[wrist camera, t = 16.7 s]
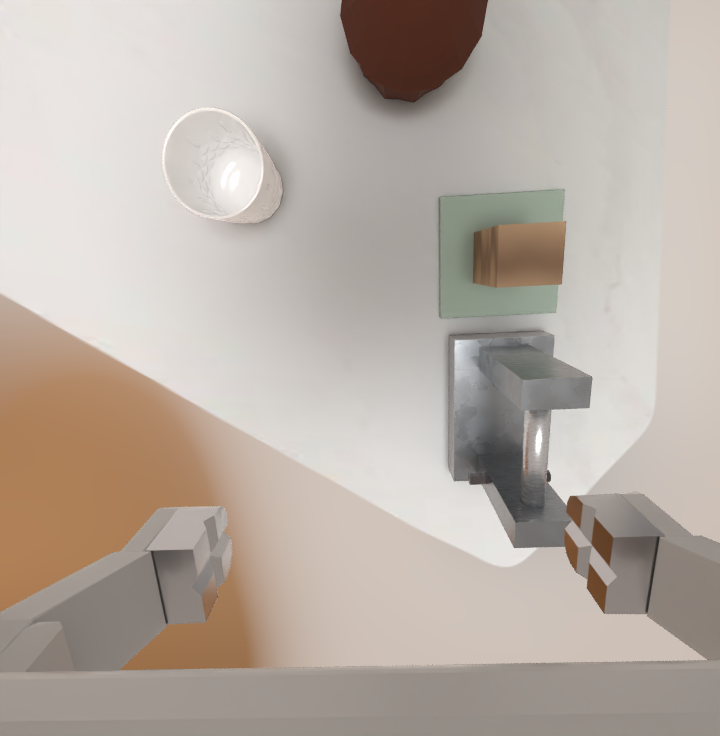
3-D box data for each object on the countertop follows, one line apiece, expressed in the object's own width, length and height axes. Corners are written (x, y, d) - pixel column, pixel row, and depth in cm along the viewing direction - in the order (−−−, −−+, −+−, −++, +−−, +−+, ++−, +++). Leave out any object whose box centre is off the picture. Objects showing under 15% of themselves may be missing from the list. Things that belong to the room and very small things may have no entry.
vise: (449, 335, 44) (488, 371, 29) (542, 330, 43) (628, 364, 29) (448, 467, 48) (483, 557, 33) (533, 464, 47) (606, 553, 33)
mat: (439, 198, 40) (440, 196, 40) (560, 190, 40) (564, 189, 39) (439, 317, 43) (441, 318, 43) (552, 311, 43) (556, 312, 42)
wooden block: (473, 232, 40) (498, 224, 33) (528, 229, 40) (566, 221, 32) (472, 283, 42) (496, 287, 34) (525, 280, 41) (561, 284, 34)
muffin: (355, -37, 36) (350, -149, 26) (478, -19, 36) (519, -124, 26) (339, 113, 39) (329, 62, 29) (453, 129, 39) (480, 84, 29)
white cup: (198, 203, 41) (145, 185, 31) (231, 128, 39) (186, 84, 29) (267, 244, 42) (236, 238, 32) (302, 173, 40) (281, 144, 30)
